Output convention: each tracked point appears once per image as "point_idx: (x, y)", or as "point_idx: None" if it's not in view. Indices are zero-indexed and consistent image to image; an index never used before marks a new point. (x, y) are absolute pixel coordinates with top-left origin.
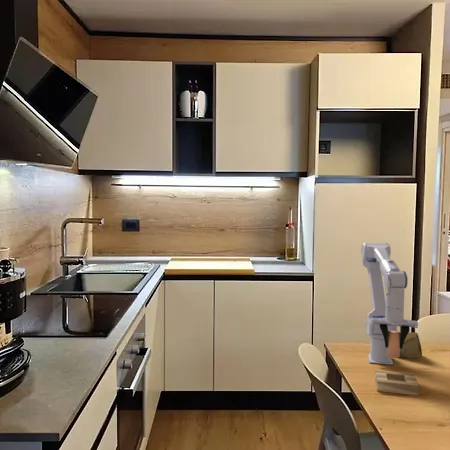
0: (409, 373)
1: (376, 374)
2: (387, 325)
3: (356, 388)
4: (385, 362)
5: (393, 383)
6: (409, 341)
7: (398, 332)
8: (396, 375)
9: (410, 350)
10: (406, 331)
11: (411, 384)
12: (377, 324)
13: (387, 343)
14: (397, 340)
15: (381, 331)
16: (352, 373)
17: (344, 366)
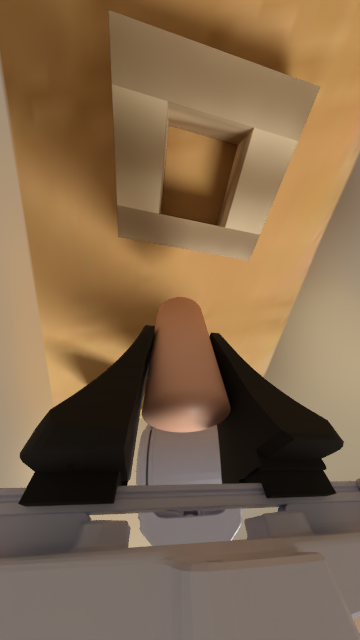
0: (136, 236)
1: (267, 210)
2: (255, 483)
3: (350, 145)
4: None
5: (245, 61)
6: None
7: (154, 416)
8: (187, 220)
9: None
10: (76, 415)
11: (150, 35)
12: (337, 486)
13: (220, 343)
14: (171, 350)
15: (193, 435)
16: (279, 290)
17: (274, 330)
